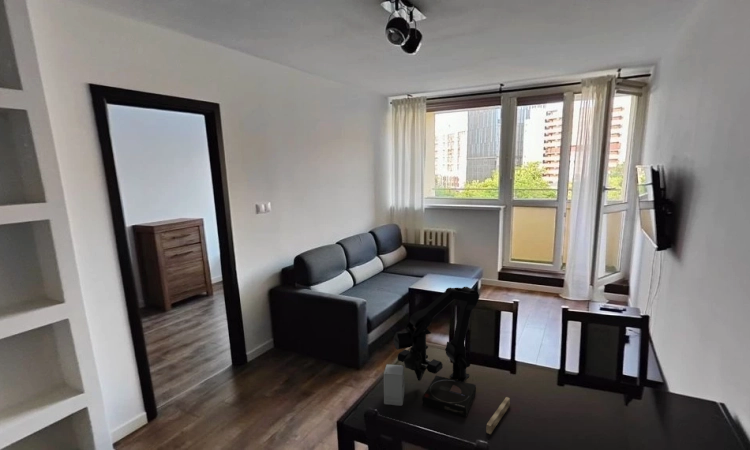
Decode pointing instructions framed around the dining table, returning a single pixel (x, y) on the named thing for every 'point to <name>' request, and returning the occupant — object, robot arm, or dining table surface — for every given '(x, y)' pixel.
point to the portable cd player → (449, 396)
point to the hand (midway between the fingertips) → (419, 380)
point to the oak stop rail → (498, 415)
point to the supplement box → (394, 385)
